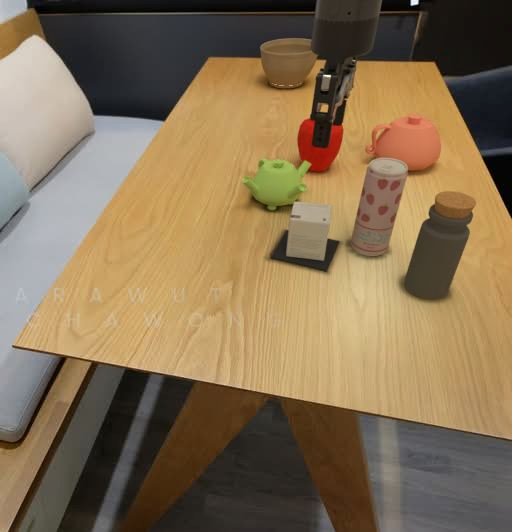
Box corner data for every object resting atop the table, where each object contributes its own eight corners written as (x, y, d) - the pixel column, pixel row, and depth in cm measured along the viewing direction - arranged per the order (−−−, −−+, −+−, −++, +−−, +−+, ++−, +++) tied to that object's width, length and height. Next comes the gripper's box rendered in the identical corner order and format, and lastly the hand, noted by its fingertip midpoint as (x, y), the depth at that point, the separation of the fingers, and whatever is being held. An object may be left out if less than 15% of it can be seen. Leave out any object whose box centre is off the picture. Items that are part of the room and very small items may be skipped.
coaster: (339, 242, 89) (339, 240, 89) (326, 272, 83) (327, 270, 83) (286, 231, 93) (286, 229, 93) (270, 258, 87) (270, 256, 87)
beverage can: (351, 255, 86) (370, 173, 77) (348, 236, 90) (365, 156, 81) (389, 258, 84) (413, 174, 75) (384, 238, 89) (405, 157, 80)
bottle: (449, 281, 78) (482, 193, 70) (445, 304, 75) (479, 214, 66) (406, 271, 81) (433, 185, 72) (400, 293, 77) (427, 205, 68)
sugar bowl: (444, 176, 103) (459, 127, 97) (367, 175, 106) (378, 127, 100) (427, 150, 113) (440, 103, 107) (357, 150, 116) (367, 105, 110)
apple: (299, 156, 116) (306, 108, 110) (341, 162, 112) (350, 113, 106) (288, 173, 110) (294, 123, 104) (331, 180, 106) (340, 129, 100)
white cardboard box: (326, 241, 89) (333, 203, 84) (323, 262, 84) (330, 223, 80) (288, 237, 91) (293, 200, 86) (284, 256, 86) (289, 218, 82)
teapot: (252, 183, 108) (255, 145, 103) (310, 190, 104) (316, 150, 99) (239, 210, 100) (241, 170, 95) (301, 219, 96) (307, 177, 91)
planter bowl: (279, 72, 164) (283, 35, 157) (325, 81, 153) (331, 42, 147) (246, 86, 156) (248, 48, 150) (292, 97, 145) (297, 56, 139)
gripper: (368, 25, 59) (344, 159, 68) (389, 0, 68) (365, 120, 78) (300, 24, 62) (286, 151, 72) (329, 0, 72) (313, 115, 81)
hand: (327, 135), depth 75 cm, fingers open, 8 cm apart
